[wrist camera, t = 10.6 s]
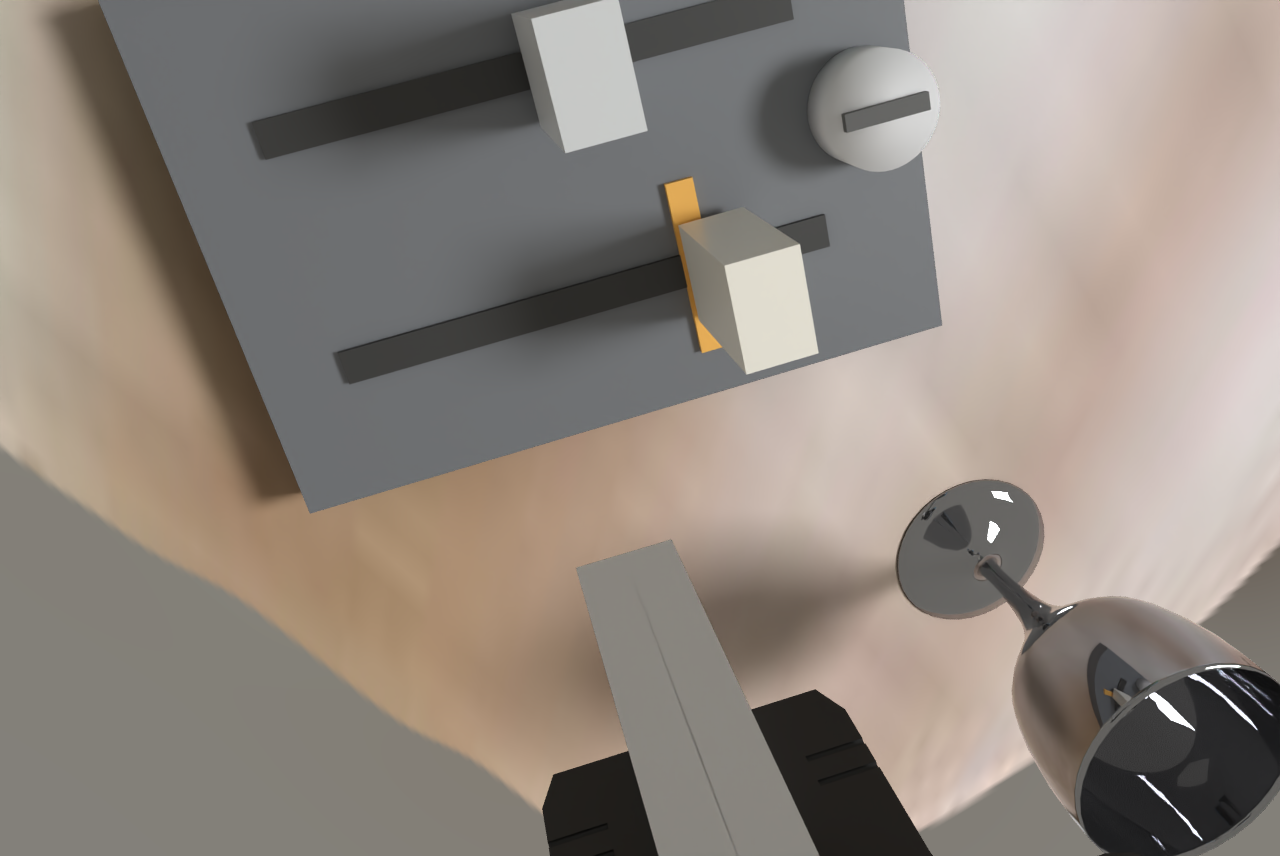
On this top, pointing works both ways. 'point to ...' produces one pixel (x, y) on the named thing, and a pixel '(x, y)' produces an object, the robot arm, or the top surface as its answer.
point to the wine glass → (1106, 685)
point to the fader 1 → (580, 72)
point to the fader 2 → (749, 289)
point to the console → (520, 209)
